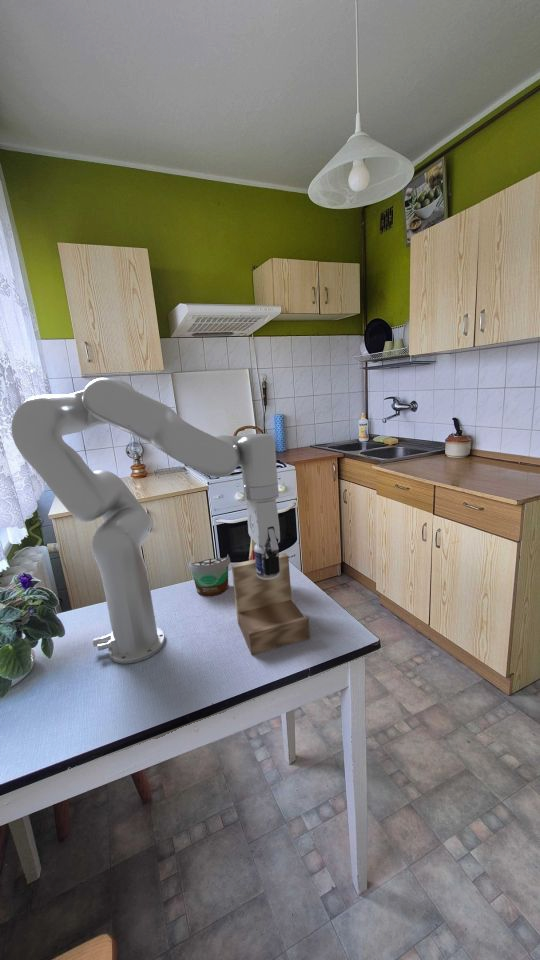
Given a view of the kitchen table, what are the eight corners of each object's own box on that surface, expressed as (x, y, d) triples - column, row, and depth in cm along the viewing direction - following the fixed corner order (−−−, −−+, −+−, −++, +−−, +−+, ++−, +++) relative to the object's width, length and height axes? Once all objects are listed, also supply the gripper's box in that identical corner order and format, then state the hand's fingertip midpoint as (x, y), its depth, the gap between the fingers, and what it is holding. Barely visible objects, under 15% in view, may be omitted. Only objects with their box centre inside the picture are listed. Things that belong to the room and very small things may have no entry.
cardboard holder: (251, 654, 84) (244, 588, 81) (237, 623, 96) (231, 564, 93) (309, 638, 88) (305, 574, 85) (289, 609, 100) (285, 553, 97)
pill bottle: (262, 583, 84) (258, 541, 82) (253, 573, 89) (249, 534, 87) (284, 576, 87) (281, 535, 84) (273, 567, 91) (270, 529, 89)
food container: (192, 602, 108) (188, 569, 106) (191, 592, 114) (187, 560, 111) (236, 593, 111) (232, 561, 108) (232, 584, 116) (229, 553, 114)
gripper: (235, 485, 90) (242, 557, 94) (255, 503, 74) (263, 588, 78) (265, 481, 93) (271, 551, 97) (291, 497, 77) (297, 580, 81)
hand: (267, 567), depth 87 cm, fingers closed on pill bottle, 5 cm apart
